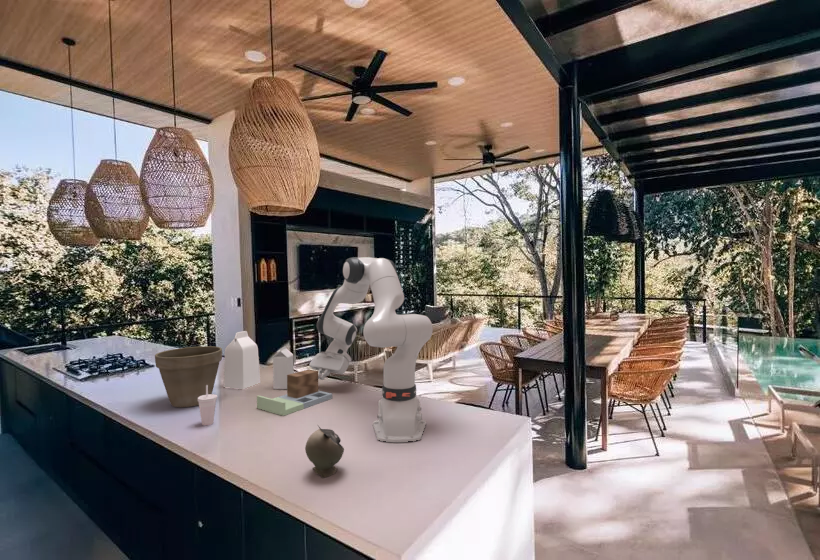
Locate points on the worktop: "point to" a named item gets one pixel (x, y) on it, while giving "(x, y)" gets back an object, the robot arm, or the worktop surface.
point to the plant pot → (188, 373)
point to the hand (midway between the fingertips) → (320, 378)
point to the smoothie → (207, 407)
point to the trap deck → (291, 402)
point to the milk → (241, 362)
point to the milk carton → (282, 368)
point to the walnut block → (302, 383)
